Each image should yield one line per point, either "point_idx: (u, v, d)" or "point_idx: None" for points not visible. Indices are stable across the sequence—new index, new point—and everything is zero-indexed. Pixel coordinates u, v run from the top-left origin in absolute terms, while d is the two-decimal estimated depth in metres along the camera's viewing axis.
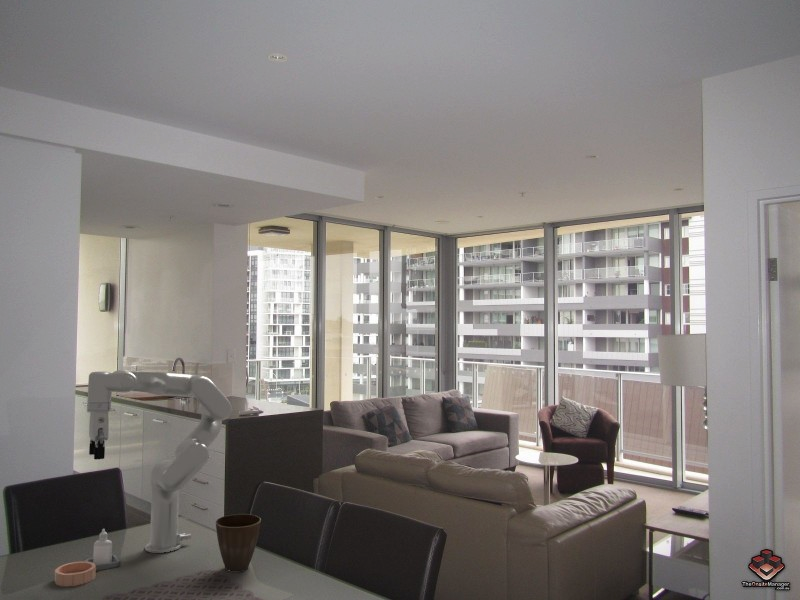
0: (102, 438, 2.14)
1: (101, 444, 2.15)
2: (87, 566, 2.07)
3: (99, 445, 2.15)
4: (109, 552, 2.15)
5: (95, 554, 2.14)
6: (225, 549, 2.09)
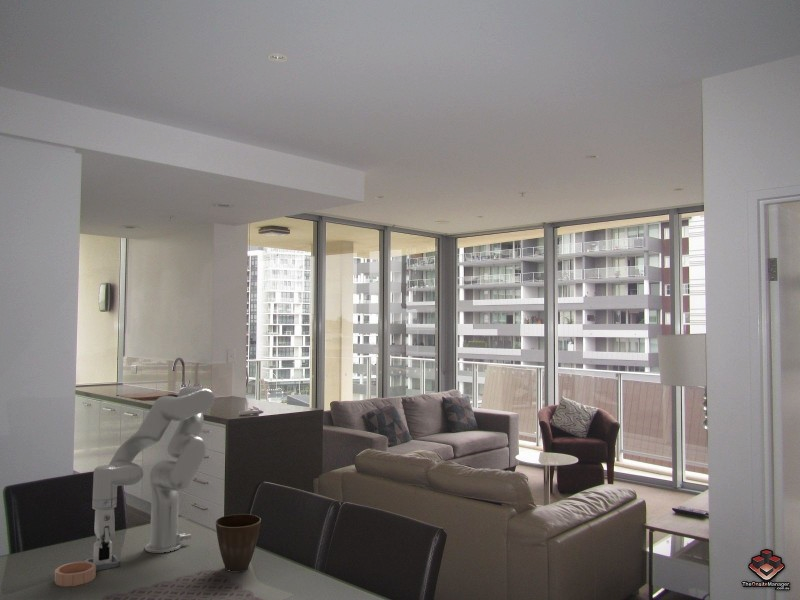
0: (107, 542, 2.10)
1: (106, 545, 2.12)
2: (87, 566, 2.07)
3: (104, 546, 2.12)
4: (109, 552, 2.15)
5: (95, 554, 2.14)
6: (225, 549, 2.09)
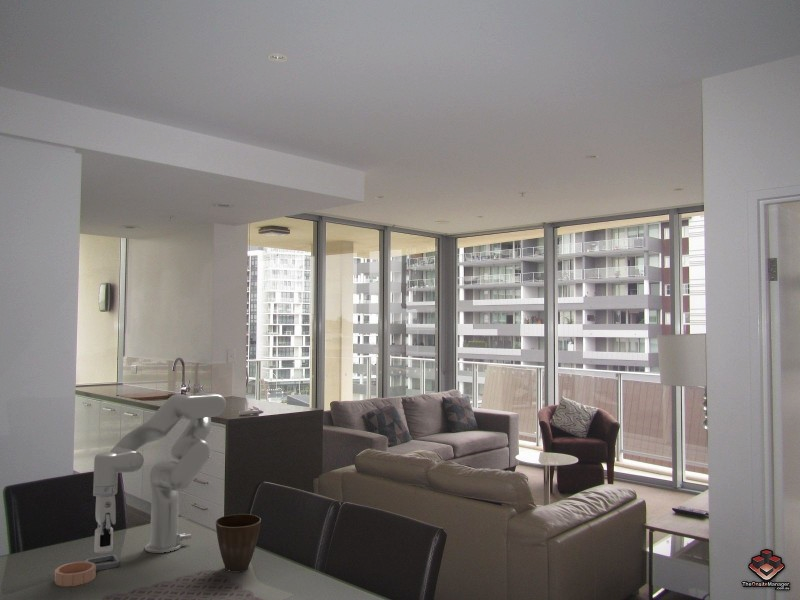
0: (108, 529, 2.11)
1: (107, 531, 2.12)
2: (87, 566, 2.07)
3: (105, 533, 2.12)
4: None
5: (96, 541, 2.14)
6: (225, 549, 2.09)
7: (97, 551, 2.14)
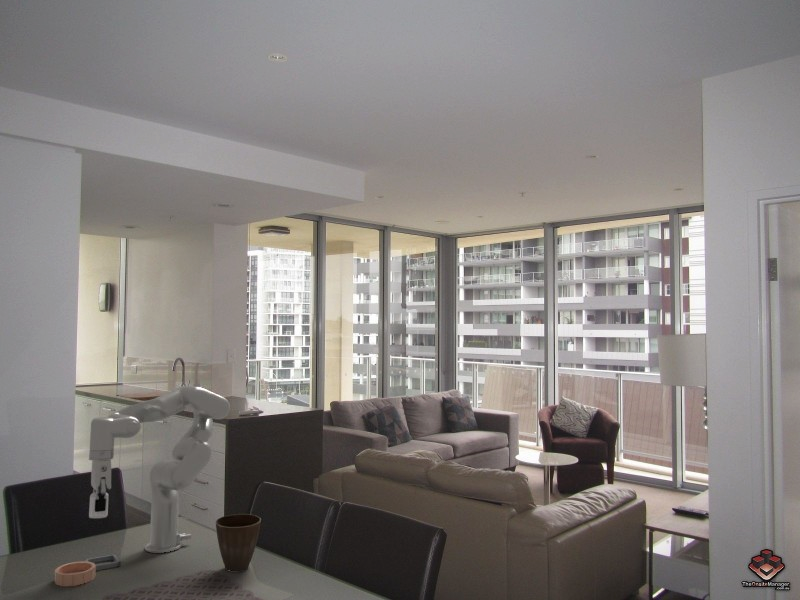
0: (103, 493, 2.09)
1: (102, 496, 2.10)
2: (87, 566, 2.07)
3: (100, 497, 2.10)
4: None
5: (91, 505, 2.12)
6: (225, 549, 2.09)
7: (92, 516, 2.12)
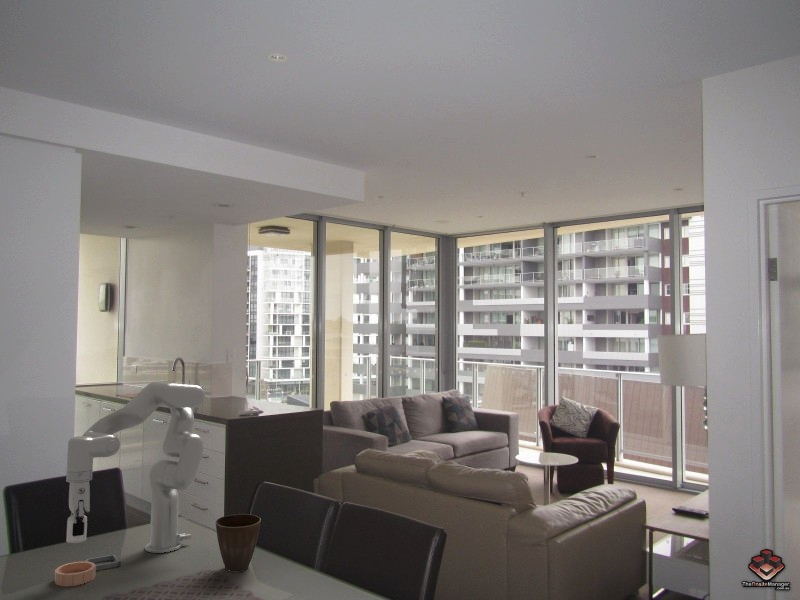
0: (81, 517, 1.99)
1: (80, 520, 2.00)
2: (87, 566, 2.07)
3: (78, 521, 2.00)
4: (84, 528, 2.03)
5: (68, 529, 2.02)
6: (225, 549, 2.09)
7: (69, 541, 2.02)
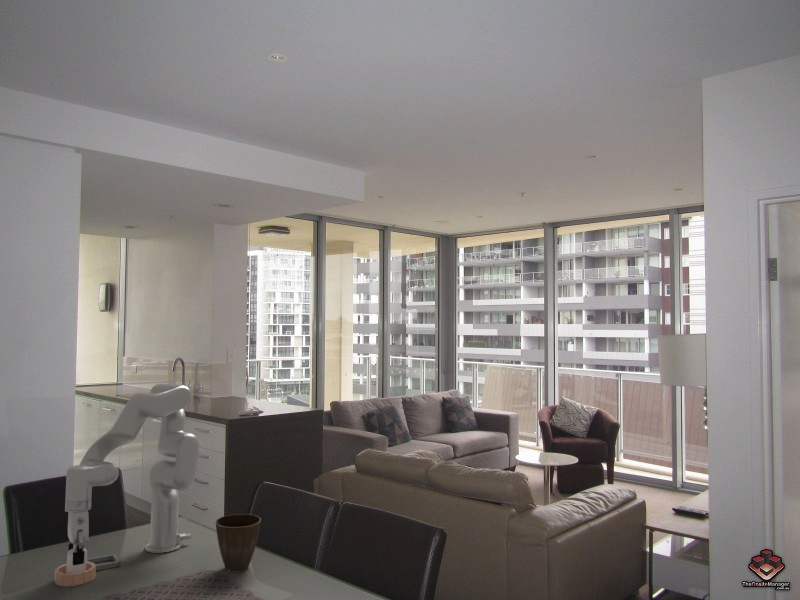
0: (81, 543, 1.97)
1: (80, 549, 1.98)
2: (87, 566, 2.07)
3: (78, 550, 1.98)
4: (84, 561, 2.03)
5: (68, 563, 2.02)
6: (225, 549, 2.09)
7: None
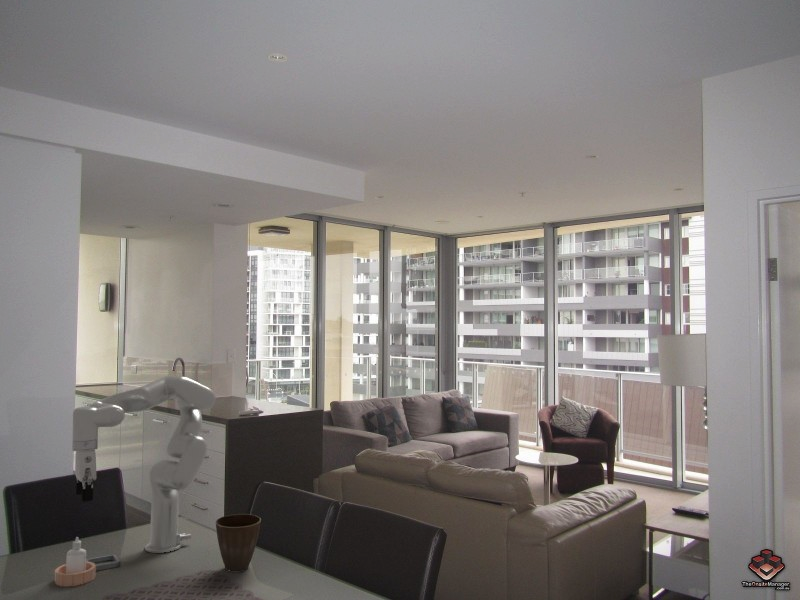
0: (90, 479, 2.01)
1: (89, 485, 2.02)
2: (87, 566, 2.07)
3: (87, 486, 2.02)
4: (83, 562, 2.03)
5: (68, 564, 2.01)
6: (225, 549, 2.09)
7: None
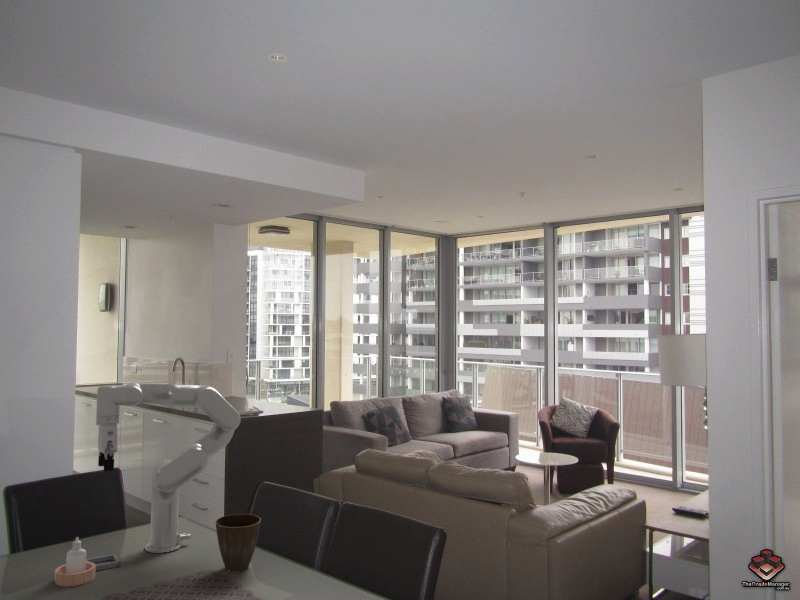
0: (111, 451, 2.20)
1: (110, 456, 2.21)
2: (87, 566, 2.07)
3: (109, 457, 2.21)
4: (83, 562, 2.03)
5: (68, 564, 2.01)
6: (225, 549, 2.09)
7: None
